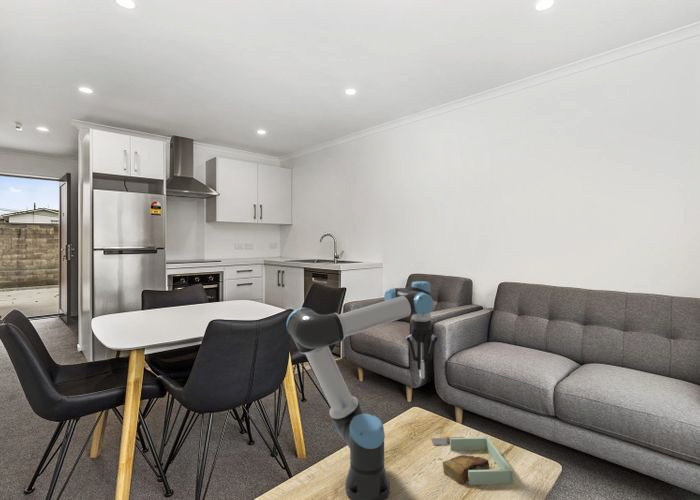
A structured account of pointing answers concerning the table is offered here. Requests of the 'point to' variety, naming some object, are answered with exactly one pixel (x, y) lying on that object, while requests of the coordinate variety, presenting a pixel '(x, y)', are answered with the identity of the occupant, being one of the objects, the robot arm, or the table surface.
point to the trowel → (442, 440)
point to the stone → (463, 467)
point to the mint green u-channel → (482, 443)
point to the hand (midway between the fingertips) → (422, 377)
